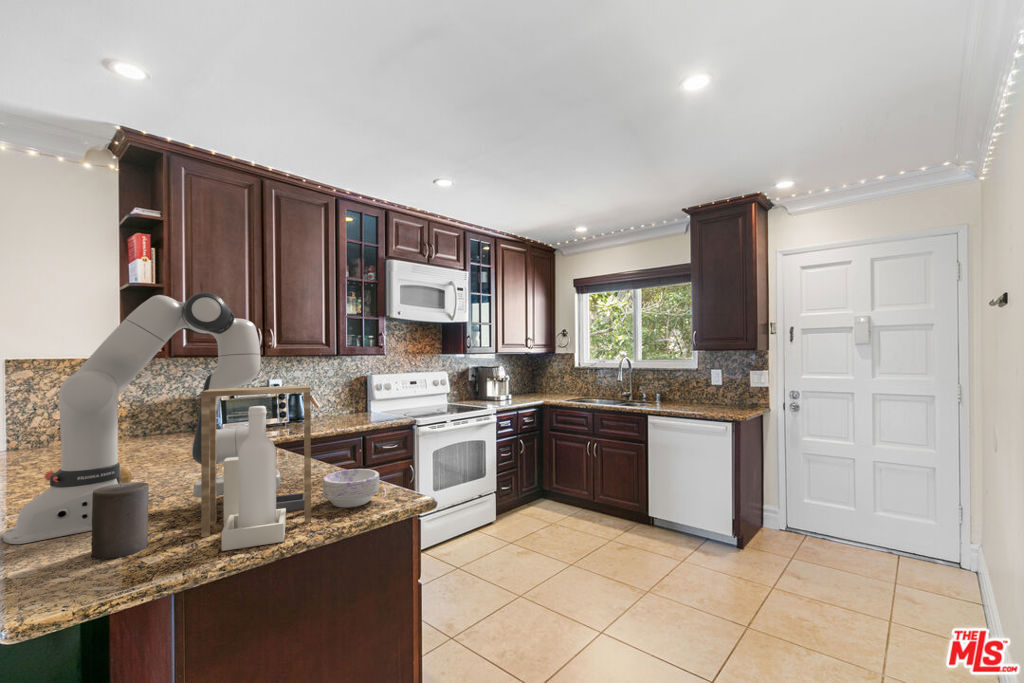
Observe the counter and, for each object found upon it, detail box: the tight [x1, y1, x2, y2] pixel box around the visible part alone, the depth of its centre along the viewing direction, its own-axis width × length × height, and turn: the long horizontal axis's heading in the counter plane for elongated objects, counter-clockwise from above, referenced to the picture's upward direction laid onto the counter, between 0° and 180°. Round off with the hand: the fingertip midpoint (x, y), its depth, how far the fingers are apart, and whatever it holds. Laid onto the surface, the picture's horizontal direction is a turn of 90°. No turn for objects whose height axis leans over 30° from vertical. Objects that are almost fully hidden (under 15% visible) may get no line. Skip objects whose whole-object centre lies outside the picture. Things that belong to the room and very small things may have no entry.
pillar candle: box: [90, 481, 150, 561], centre depth 105 cm, size 10×10×15 cm
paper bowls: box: [322, 468, 380, 509], centre depth 136 cm, size 15×15×8 cm
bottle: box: [238, 405, 277, 528], centre depth 112 cm, size 8×8×30 cm
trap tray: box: [276, 492, 305, 512], centre depth 132 cm, size 8×14×2 cm, turn 113°
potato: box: [119, 466, 133, 484], centre depth 153 cm, size 10×14×8 cm
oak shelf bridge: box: [200, 384, 312, 538], centre depth 121 cm, size 10×24×34 cm, turn 113°
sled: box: [221, 457, 287, 552], centre depth 115 cm, size 22×14×16 cm, turn 23°
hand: (235, 491), depth 123 cm, fingers closed, pressing on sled
